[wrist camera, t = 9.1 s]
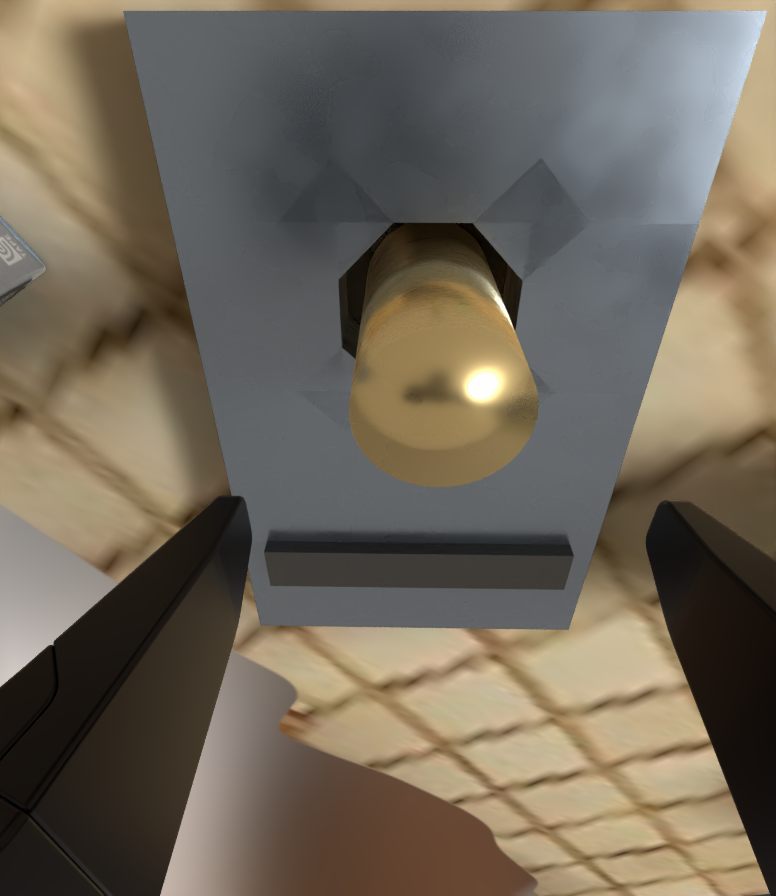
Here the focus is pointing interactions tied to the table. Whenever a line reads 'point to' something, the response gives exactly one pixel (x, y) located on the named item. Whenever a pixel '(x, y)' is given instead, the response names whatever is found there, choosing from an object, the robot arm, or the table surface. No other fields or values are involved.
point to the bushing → (438, 362)
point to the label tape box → (15, 263)
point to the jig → (431, 201)
